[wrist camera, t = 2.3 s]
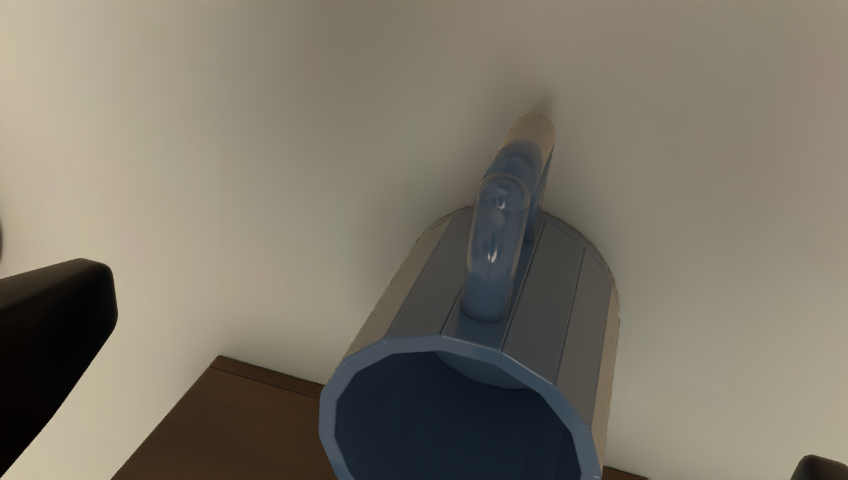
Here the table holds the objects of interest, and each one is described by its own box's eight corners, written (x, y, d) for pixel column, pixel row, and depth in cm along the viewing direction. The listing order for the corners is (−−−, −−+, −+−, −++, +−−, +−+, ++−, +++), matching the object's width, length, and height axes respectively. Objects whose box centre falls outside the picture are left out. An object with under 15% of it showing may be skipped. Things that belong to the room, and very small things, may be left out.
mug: (592, 412, 21) (565, 590, 16) (395, 358, 23) (314, 509, 18) (677, 118, 17) (676, 242, 12) (424, 70, 18) (327, 163, 13)
